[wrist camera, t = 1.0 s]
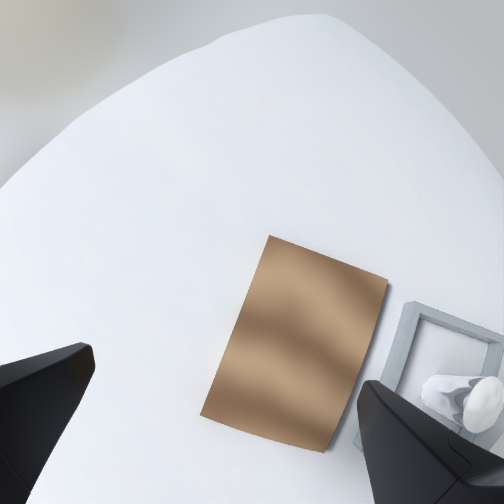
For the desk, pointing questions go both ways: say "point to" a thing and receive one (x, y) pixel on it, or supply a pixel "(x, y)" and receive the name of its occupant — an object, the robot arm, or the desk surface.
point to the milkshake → (465, 399)
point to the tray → (418, 310)
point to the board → (296, 347)
